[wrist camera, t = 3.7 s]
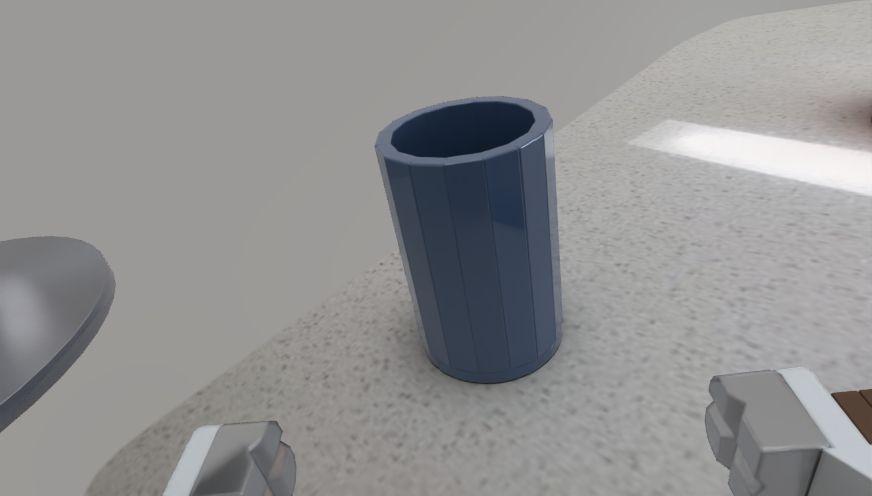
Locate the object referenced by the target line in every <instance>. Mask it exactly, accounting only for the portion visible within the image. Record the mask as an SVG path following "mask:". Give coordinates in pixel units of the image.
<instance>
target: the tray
mask: <svg viewBox="0 0 872 496" xmlns="http://www.w3.org/2000/svg"><path fill="white" fill-rule="evenodd" d="M831 396H832V397H833V399H834V400H835V401H836V403H837V404H838V405H839V406H840V408H841V409H842V410H843V411H844V413H845V414H846V415H847V416H848V418H849V419H850V420H851V422H852V423H853V424H854V425H855V427H856V428H857V429H858V430H859V432H860V433H861V434H862V436H863V437H864V438H865V439H866V441H867V442H868V443H869V444H870V445H871V444H872V389H868V390H860V391H859V392H858V391H848V392H837V393H832V394H831Z"/></svg>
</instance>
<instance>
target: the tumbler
mask: <svg viewBox="0 0 872 496" xmlns="http://www.w3.org/2000/svg"><path fill="white" fill-rule="evenodd" d="M375 151H376V155H377V159H378V163H379V167H380V171H381V175H382V179H383V183H384V188H385V192H386V196H387V200H388V204H389V208H390V213H391V217H392V221H393V225H394V229H395V233H396V237H397V241H398V246H399V250H400V254H401V258H402V262H403V266H404V271H405V275H406V279H407V283H408V287H409V291H410V295H411V299H412V304H413V308H414V312H415V316H416V320H417V324H418V328H419V333H420V337H421V339H422V341H423V344H424V348H425V351H426V353H427V356H428V357H429V359H430V360H431V361H432V363H433V364H434V365H435V366H436V367H438V368H439V369H440V370H441V371H443V372H445V373H446V374H448V375H450V376H452V377H455V378H457V379H461V380H464V381H469V382H475V383H497V382H504V381H509V380H513V379H517V378H519V377H522V376H525V375H527V374H529V373H531V372H533V371H535V370H536V369H538V368H539V367H541V366H542V365H543V364H545V363H546V362H547V361H548V360H549V359H550V358H551V357H552V356H553V354H554V353H555V351H556V350H557V348H558V346H559V344H560V341H561V337H562V323H563V315H562V295H561V275H560V255H559V235H558V216H557V196H556V176H555V156H554V136H553V120H552V118H551V116H550V113H549V111H548V109H547V108H546V107H544V106H542V105H540V104H537V103H535V102H533V101H531V100H527V99H520V98H512V97H504V96H498V97H475V98H474V97H473V98H468V99H461V100H454V101H448V102H446V103H445V102H443V103H440V104H436V105H433V106H430V107H426V108H423V109H419V110H416V111H414V112H412V113H410V114H407V115H405V116H403V117H401V118H399V119H397V120H395V121H393V122H392V123H390V124H389V125H388V126H387V127H386V128H385V129H383V130H382V131H381V132H380V133H379V134H378V137H377V140H376V143H375Z"/></svg>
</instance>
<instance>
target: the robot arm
mask: <svg viewBox="0 0 872 496" xmlns="http://www.w3.org/2000/svg"><path fill="white" fill-rule="evenodd" d="M709 393H710V395H711V396H712V398H713V400H714V401H713V402H712V403H711V404H710V405H709V406H708V407H706V414H705V425H706V432H707V437H708V440H709V443H710V446H711V449H712V451H713V453H714V455H715V457H716V460H717V461H718V462H720V463H721V464H722V465H724V466H725V467H727V468H728V469H729V470H730V475H729V481H728V485H729V487H730V489H731V491H732V493H733V495H734V496H872V444H871V445H870V444H869V443H868V442H867V441H866V439H865V438H864V437H863V436H862V434H861V433H860V432H859V430H858V429H857V428H856V427H855V425H854V424H853V423H852V422H851V420H850V419H849V418H848V416H847V415H846V414H845V413H844V411H843V410H842V409H841V408H840V406H839V405H838V404H837V403H836V401H835V400H834V399H833V397H832V396H831V395H830V394H829V392H828V391H827V390H826V389H825V387H824V386H823V385H822V383H821V382H820V381H819V380H818V378H817V377H816V376H815V375H814V373H813V372H812V371H811V370H809V369H808V368H806V367H795V368H786V369H776V370H763V371H754V372H745V373H736V374H727V375H718V376H713V378H712V379H711V381H710V385H709ZM282 433H283V431H282V429H281V428H280V426H279V424H278V422H277V421H260V422H246V423H232V424H221V425H209V426H200V427H199V428H198V429H197V430H195V431H194V432H193V434H192V436H191V438H190V440H189V442H188V444H187V446H186V448H185V450H184V452H183V454H182V456H181V458H180V460H179V462H178V464H177V466H176V468H175V470H174V472H173V474H172V476H171V478H170V480H169V482H168V485H167V487H166V489H165V491H164V493H163V495H162V496H292V494H293V490H294V486H295V482H296V462H295V457H294V454H293V452H292V450H291V447H290V446H288V445H287V444H285V443H283V442H282V441H280V440H281V436H282Z"/></svg>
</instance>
